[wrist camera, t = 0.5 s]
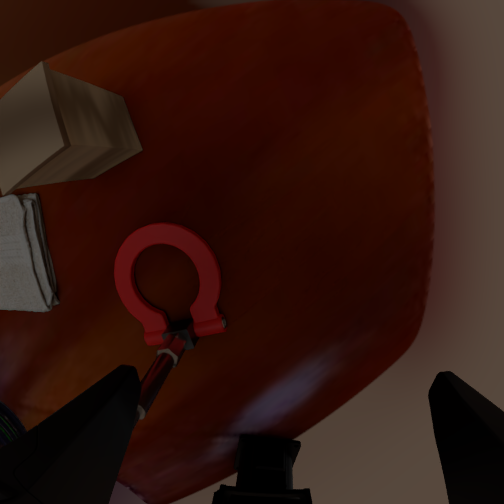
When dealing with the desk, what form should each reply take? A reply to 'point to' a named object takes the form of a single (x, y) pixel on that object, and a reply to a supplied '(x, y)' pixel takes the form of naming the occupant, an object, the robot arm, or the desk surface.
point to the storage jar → (9, 426)
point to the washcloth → (25, 256)
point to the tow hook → (155, 321)
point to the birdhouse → (61, 130)
